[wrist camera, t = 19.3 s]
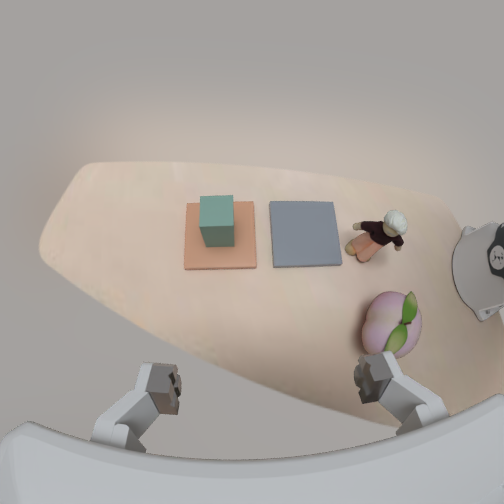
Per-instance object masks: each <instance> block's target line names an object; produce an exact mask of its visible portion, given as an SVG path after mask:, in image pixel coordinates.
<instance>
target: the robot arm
mask: <svg viewBox="0 0 504 504" xmlns="http://www.w3.org/2000/svg"><path fill="white" fill-rule="evenodd" d="M452 265H453V276H454V281H455V284H456V287H457V290H458V292H459V294H460V296H461V298H462V299H463V301H464V302H465V303H466V304H467V305H468V306H469V307H470V308H472V309H473V310H474V312H475V314H476V316H477V318H478V319H479V320H480V321H484V320H486V319H487V318H489V317H490V316H492V315H493V314H494V313H496V312H497V311H498V310H500V309H501V308H503V307H504V223H502V224H501V225H499V224H497V223H494V222H489V223H487V224H485V225H483V226H481V227H479V228H477V229H475V228H473V227H470V226H467V227H465V228H464V229H463V232H462V238H461V240H460V241H459V243H458V244H457V246H456V248H455V251H454V254H453V264H452ZM358 361H359V365H357V366H356V368H355V371H354V380H355V384H356V386H358V387H359V388H360V391H359V395H360V398H361V401H362V404H365V403H370V402H376V401H378V402H379V403H380V404H381V405H382V406H384V407H385V408H386V409H387V410H388V411H389V412H390V413H391V414H392V415H393V416H395V417H396V418H397V419H398V420H399V421H400V422H401V423H402V425H401V426H400V427H399V429H398V430H397V431H396V435H397V436H395V437H391V438H388V439H384V440H381V441H377V442H374V443H369V444H365V445H361V446H356V447H352V448H347V449H342V450H336V451H331V452H325V453H319V454H312V455H304V456H296V457H285V458H273V459H254V460H214V459H194V458H182V457H172V456H164V455H156V454H149V453H146V449H145V447H144V446H143V445H142V444H141V443H140V441H139V440H138V439H139V438H140V436H141V435H142V434H143V433H144V432H145V431H146V430H147V429H148V427H149V426H150V425H151V424H152V423H153V422H154V421H155V419H156V418H157V417H158V416H159V414H173V415H177V414H178V409H179V401H178V397H179V396H180V395H181V378H180V375H178V374H177V372H178V369H177V366H176V365H173V364H161V363H150V362H143V363H142V364H141V367H140V370H139V374H138V378H137V381H136V384H135V387H134V390H130V391H129V392H128V393H127V394H126V395H124V396H123V397H122V398H121V399H120V400H118V401H117V402H116V403H115V404H114V405H113V406H111V407H110V408H109V409H108V410H107V411H105V412H104V413H103V414H102V415H101V416H99V417H98V418H97V421H96V424H95V427H94V430H93V433H92V437H91V440H90V441H88V440H84V439H81V438H78V437H74V436H71V435H68V434H65V433H62V432H59V431H56V430H53V429H51V428H48V427H45V426H43V425H40V424H38V423H35V422H32V421H27V422H24V423H22V424H21V425H19V426H17V427H16V428H14V429H13V430H11V431H10V432H8V433H7V434H6V435H5V437H4V438H3V439H2V441H1V443H0V504H504V395H502V394H495V395H493V396H491V397H489V398H487V399H486V400H484V401H482V402H480V403H478V404H476V405H474V406H472V407H470V408H468V409H466V410H463V411H461V412H459V413H457V414H455V415H452V416H449V414H448V412H447V410H446V407H445V405H444V403H443V401H442V399H441V397H439V396H438V395H436V394H435V393H433V392H432V391H430V390H428V389H427V388H425V387H424V386H422V385H421V384H419V383H418V382H416V381H415V380H413V379H412V378H410V377H409V376H407V375H403V373H402V371H401V369H400V367H399V365H398V363H397V361H396V359H395V357H394V355H393V353H392V352H391V351H385V352H378V353H372V354H366V355H361V356H360V357H359V360H358Z"/></svg>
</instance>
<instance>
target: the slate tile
mask: <svg viewBox="0 0 504 504" xmlns="http://www.w3.org/2000/svg"><path fill="white" fill-rule="evenodd" d="M269 206H270V220H271V235H272V250H273V266H274V268H281V267H311V266H337V265H341V264H342V258H341V250H340V243H339V236H338V229H337V223H336V216H335V210H334V205H333V202H314V201H270V204H269Z"/></svg>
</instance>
